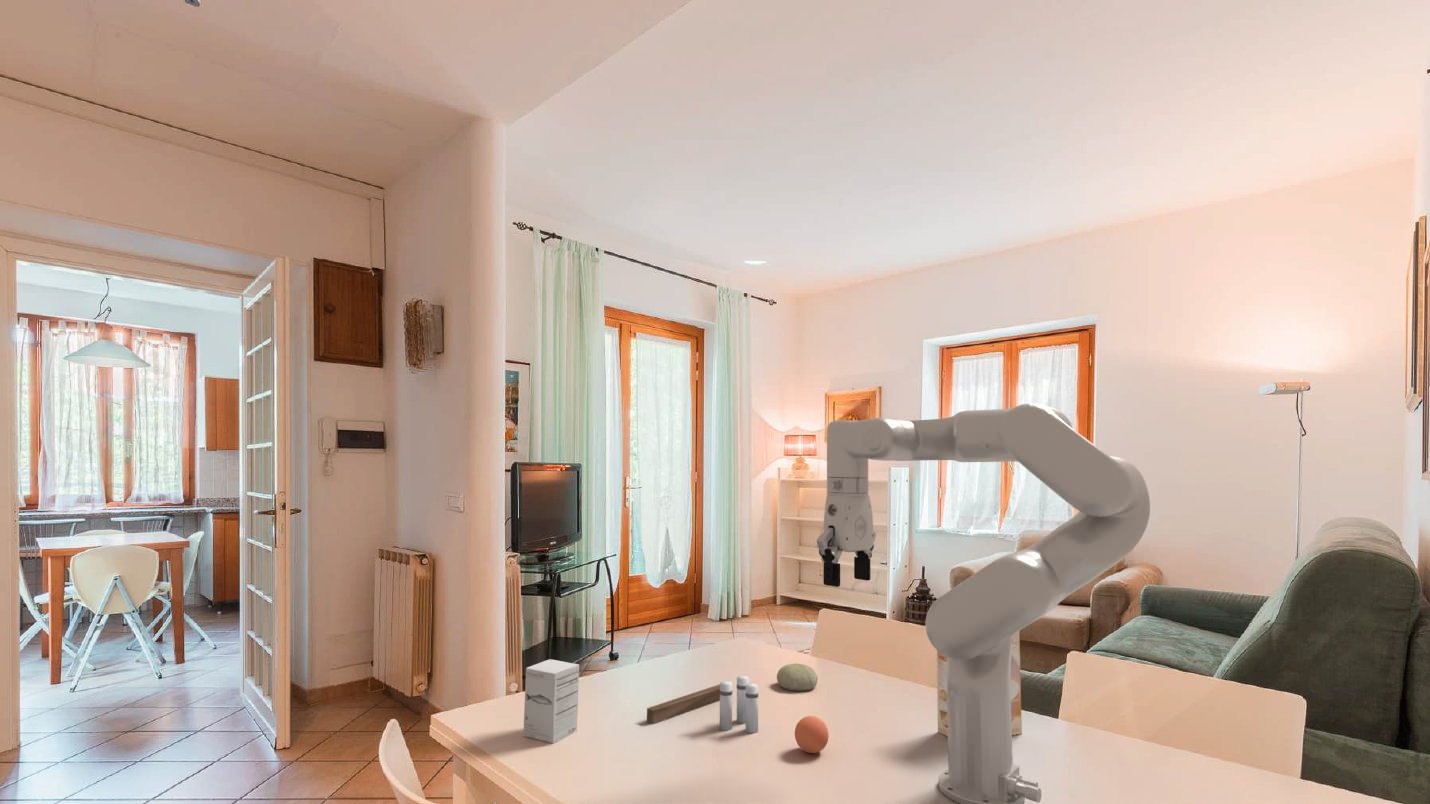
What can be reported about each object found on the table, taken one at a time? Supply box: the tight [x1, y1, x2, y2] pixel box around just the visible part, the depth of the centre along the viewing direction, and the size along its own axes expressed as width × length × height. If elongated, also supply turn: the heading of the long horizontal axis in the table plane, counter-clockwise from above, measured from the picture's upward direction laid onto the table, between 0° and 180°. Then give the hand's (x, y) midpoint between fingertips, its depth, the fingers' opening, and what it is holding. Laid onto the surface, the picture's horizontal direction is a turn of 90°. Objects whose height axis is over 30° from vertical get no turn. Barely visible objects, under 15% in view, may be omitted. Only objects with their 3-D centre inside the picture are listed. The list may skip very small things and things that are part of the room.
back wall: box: [646, 683, 720, 725], centre depth 144 cm, size 2×22×2 cm, turn 137°
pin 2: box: [736, 675, 750, 724], centre depth 138 cm, size 2×2×8 cm
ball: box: [794, 715, 830, 754], centre depth 123 cm, size 6×6×6 cm
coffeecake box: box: [936, 631, 1023, 738], centre depth 133 cm, size 15×7×20 cm, turn 112°
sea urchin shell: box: [776, 663, 819, 692], centre depth 160 cm, size 9×8×8 cm
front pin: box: [745, 683, 759, 734], centre depth 133 cm, size 2×2×8 cm
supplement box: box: [522, 658, 580, 745], centre depth 131 cm, size 7×7×13 cm
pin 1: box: [719, 680, 733, 731], centre depth 134 cm, size 2×2×8 cm
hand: (847, 582), depth 125 cm, fingers open, 9 cm apart
